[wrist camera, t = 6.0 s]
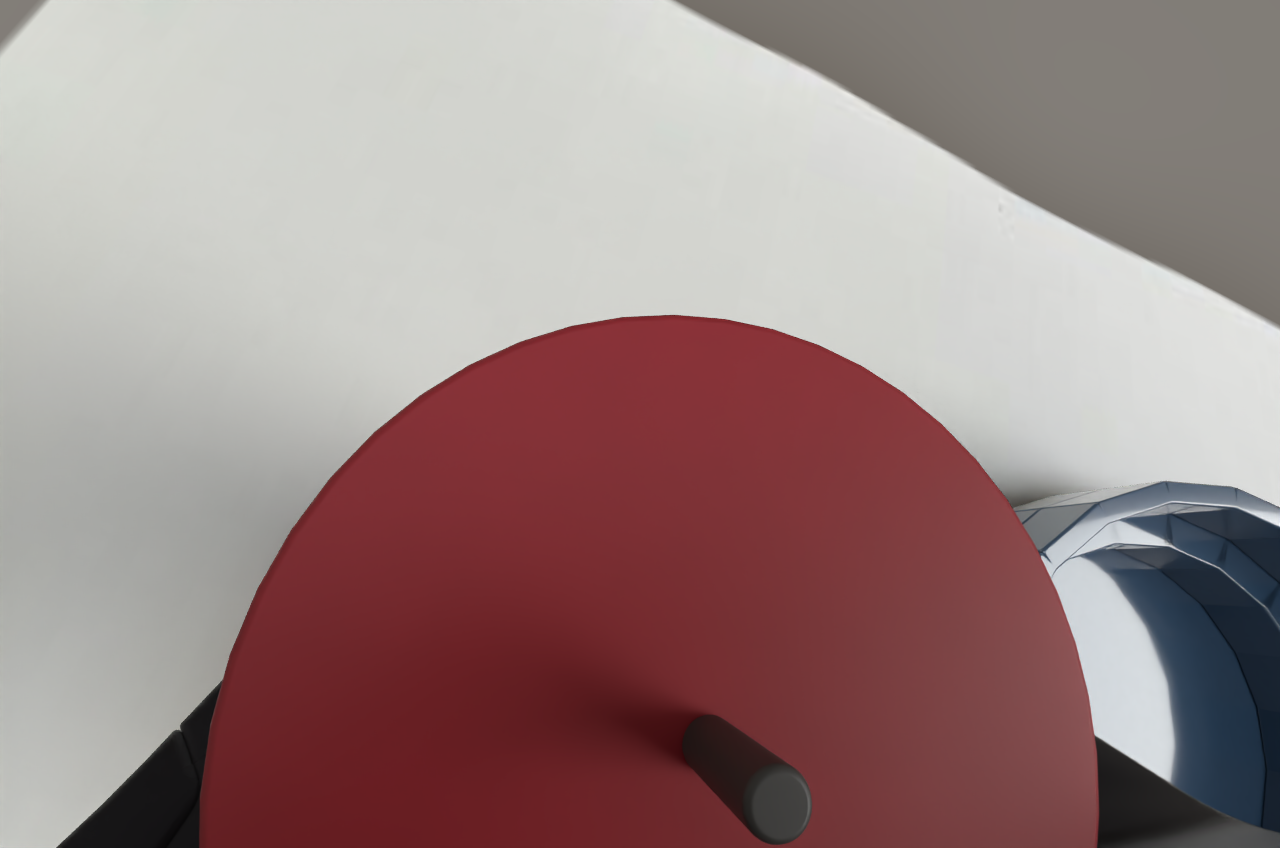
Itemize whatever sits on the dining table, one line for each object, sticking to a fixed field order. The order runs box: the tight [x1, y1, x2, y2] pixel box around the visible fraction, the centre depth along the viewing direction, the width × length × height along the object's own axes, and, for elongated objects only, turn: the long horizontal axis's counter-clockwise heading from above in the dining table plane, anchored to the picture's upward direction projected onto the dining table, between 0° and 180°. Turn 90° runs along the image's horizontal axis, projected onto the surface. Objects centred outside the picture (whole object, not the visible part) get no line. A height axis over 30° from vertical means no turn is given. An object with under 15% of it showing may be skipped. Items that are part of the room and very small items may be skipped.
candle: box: [199, 315, 1099, 848], centre depth 9 cm, size 5×5×14 cm
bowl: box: [1013, 481, 1280, 832], centre depth 18 cm, size 14×14×4 cm
